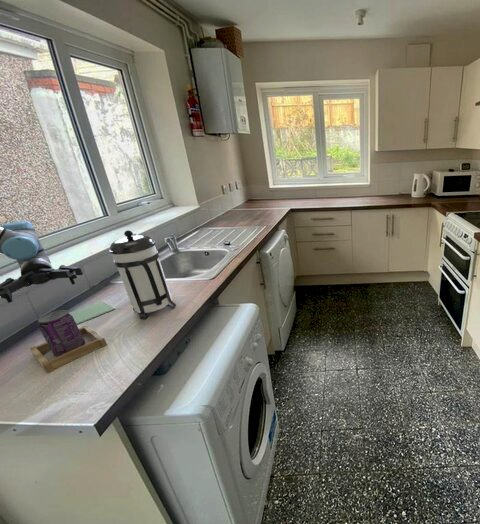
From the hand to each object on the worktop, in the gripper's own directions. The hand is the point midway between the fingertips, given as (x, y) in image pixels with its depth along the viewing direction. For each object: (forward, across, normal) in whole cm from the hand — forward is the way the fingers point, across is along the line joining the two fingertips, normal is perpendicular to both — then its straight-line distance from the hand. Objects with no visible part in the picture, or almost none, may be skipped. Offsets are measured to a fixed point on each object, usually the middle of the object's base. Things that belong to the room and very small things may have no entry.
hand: (41, 288), depth 85 cm
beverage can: (+10, 0, -18) cm, 20 cm away
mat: (-14, -7, -18) cm, 24 cm away
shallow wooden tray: (+10, 0, -18) cm, 20 cm away
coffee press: (+5, -24, -18) cm, 31 cm away
